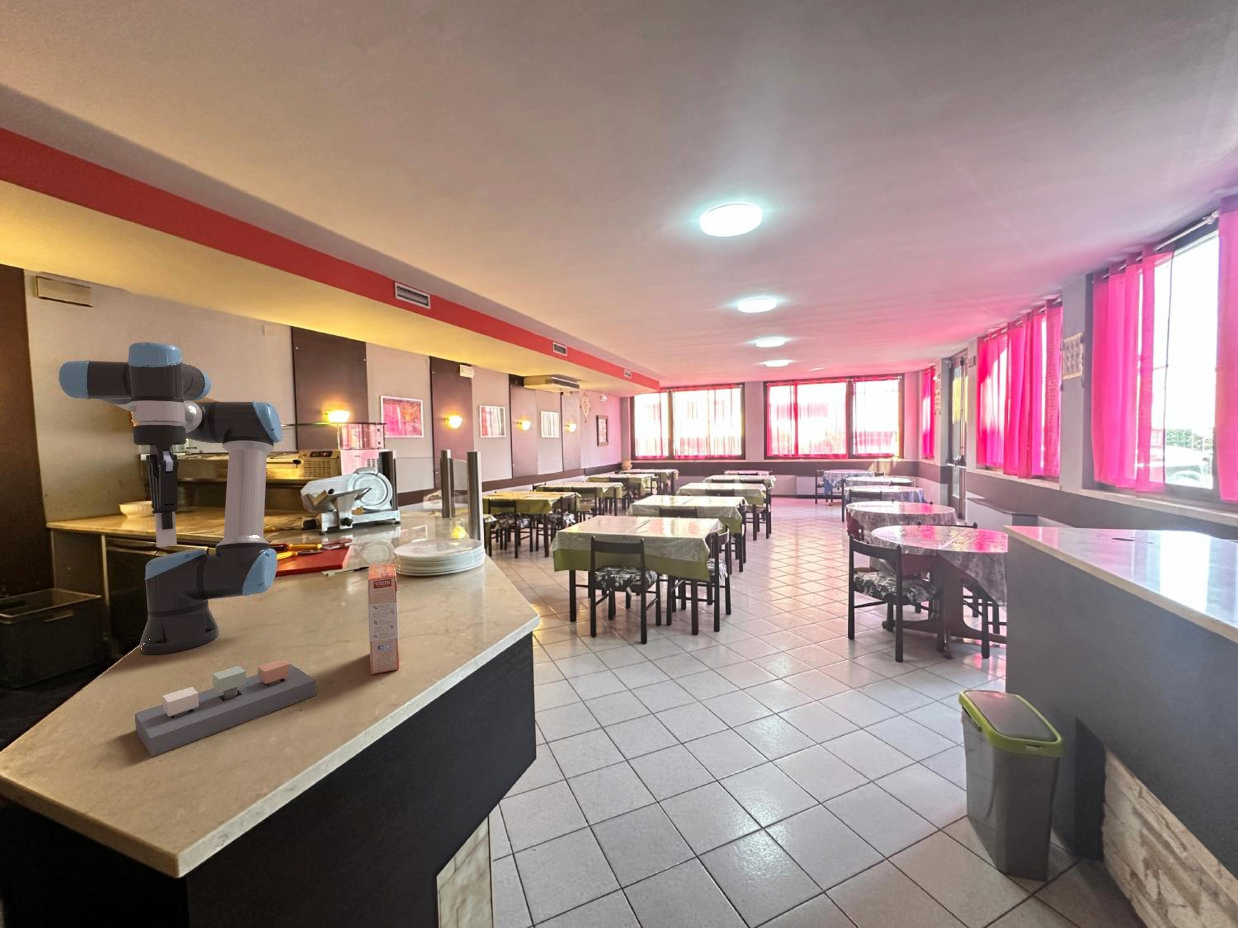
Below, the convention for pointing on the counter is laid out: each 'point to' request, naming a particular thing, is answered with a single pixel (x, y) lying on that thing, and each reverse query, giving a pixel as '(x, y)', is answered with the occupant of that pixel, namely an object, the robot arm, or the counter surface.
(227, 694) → the key sage
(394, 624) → the cracker box
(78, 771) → the counter surface
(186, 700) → the key ivory
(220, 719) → the console
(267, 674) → the key terracotta
